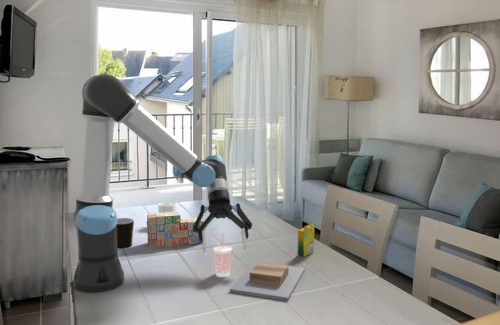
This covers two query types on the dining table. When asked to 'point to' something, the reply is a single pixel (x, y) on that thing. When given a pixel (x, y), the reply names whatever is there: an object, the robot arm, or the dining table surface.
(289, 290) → the base board
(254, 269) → the walnut pedestal
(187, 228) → the stack of blocks
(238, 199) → the dining table surface
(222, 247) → the beverage cup
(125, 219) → the coffee mug
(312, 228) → the crayon box
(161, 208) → the white cup
